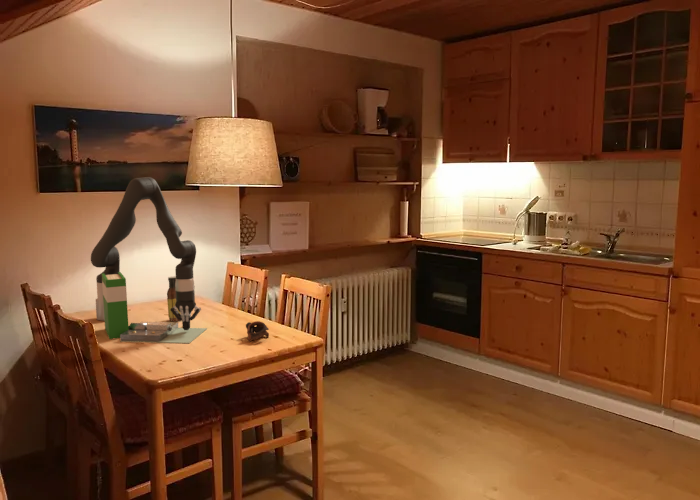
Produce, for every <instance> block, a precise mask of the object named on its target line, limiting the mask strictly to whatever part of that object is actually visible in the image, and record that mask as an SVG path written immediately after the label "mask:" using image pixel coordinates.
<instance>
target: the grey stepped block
mask: <svg viewBox="0 0 700 500" xmlns="http://www.w3.org/2000/svg"><path fill="white" fill-rule="evenodd" d="M147 324H148V323H140V322H131V323H130V324H129V325H128V328H129V330H127V331H125V332H124V333H122V334H120V338H119V339H120V340H119V341H152V342H160V341H162V340H163V339H164V338H166V337H167V331H166V330H147ZM171 330H172V328H168V331H171Z"/></svg>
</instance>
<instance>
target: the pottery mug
mask: <svg viewBox="0 0 700 500" xmlns="http://www.w3.org/2000/svg"><path fill="white" fill-rule="evenodd" d="M245 328H246V330H247V331H246V334H247V341H248V342H252V340H253V341H254V340H259V339H261V338H263V337H267V338H269V336H270V333H269V332H268V331H269V330H270V329H269V327H268V326H267V325H266V324H265V322H263V321H259V320H258V321H257V320H256V321H253V322H252V321H251V322H247V323H246V324H245Z"/></svg>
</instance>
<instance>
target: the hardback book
mask: <svg viewBox="0 0 700 500" xmlns="http://www.w3.org/2000/svg"><path fill="white" fill-rule="evenodd" d="M101 273H102V272H101ZM126 280H127V279H126V277H125V276H124V275H123V274H122V273H121V271H120V272H118V274H112V275H105V274H104V273H102V287H103V303H104V319H105V321H104V330H105V333H106V334H107V337H108V339H109V340H112V339H113V338H115V339H120V334H122V333H124V332H125V331H127V330H129V328H128V326H129V315H128V314H129V312H128V311H129V310H128V298H127V297H128V296H127V295H128V294H127V293H128V292H127V281H126ZM113 340H114V339H113Z"/></svg>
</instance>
